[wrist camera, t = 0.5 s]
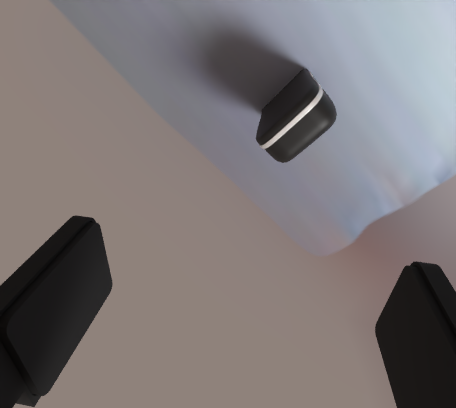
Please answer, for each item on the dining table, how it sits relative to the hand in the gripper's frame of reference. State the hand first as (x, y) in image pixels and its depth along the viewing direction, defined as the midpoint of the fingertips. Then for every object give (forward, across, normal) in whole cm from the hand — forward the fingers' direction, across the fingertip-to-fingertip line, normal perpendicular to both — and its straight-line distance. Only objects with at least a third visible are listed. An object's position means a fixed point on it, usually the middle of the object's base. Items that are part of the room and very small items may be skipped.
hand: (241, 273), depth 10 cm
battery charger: (+30, -3, +1) cm, 30 cm away
